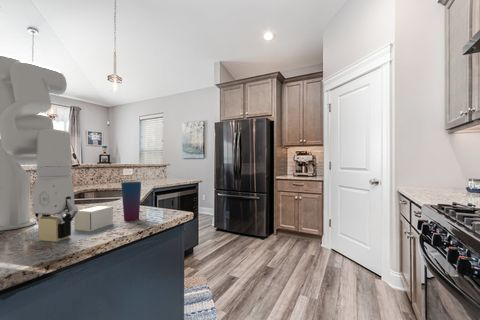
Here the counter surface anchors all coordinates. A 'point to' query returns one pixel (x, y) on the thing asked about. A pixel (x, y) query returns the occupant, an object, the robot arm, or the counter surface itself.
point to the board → (80, 234)
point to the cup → (131, 200)
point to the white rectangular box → (93, 218)
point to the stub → (49, 228)
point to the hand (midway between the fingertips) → (54, 235)
